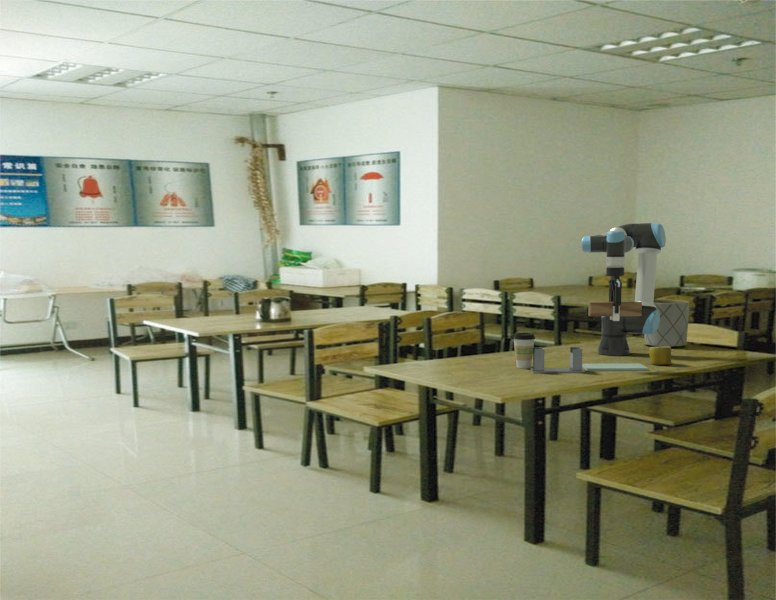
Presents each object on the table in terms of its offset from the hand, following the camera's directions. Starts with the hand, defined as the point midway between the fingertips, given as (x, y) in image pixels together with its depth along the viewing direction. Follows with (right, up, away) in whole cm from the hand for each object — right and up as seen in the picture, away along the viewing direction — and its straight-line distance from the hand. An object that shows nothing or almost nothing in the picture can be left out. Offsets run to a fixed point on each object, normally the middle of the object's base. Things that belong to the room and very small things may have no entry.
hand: (614, 320), depth 330 cm
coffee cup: (-39, -21, +7) cm, 45 cm away
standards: (-26, -22, -4) cm, 34 cm away
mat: (0, -21, +2) cm, 21 cm away
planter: (+46, -15, +65) cm, 82 cm away
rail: (0, +2, 0) cm, 2 cm away
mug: (+24, -20, +12) cm, 33 cm away
